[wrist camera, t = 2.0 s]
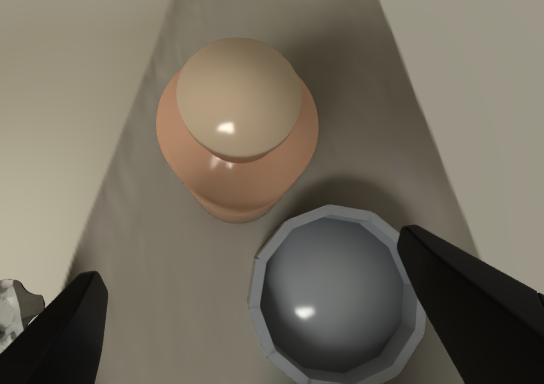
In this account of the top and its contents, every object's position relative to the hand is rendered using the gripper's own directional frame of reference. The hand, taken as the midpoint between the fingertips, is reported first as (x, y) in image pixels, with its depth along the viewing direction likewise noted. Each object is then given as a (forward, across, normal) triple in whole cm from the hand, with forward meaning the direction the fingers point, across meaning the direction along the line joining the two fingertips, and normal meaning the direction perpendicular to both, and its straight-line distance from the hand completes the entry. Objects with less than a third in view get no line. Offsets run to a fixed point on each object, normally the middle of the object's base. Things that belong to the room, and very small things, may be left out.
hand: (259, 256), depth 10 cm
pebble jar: (+12, 0, +5) cm, 13 cm away
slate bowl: (+6, -5, +10) cm, 13 cm away
